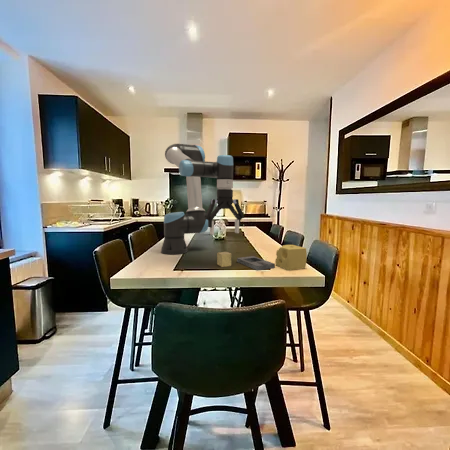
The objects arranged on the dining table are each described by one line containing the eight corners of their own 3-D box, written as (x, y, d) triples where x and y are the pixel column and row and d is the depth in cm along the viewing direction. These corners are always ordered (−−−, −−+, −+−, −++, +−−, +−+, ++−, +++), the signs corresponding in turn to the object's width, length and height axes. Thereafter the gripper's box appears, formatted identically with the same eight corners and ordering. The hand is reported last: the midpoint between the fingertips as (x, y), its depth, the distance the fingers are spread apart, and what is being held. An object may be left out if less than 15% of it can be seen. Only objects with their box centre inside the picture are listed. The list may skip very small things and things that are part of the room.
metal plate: (236, 261, 142) (237, 257, 142) (253, 259, 146) (253, 255, 146) (257, 270, 126) (257, 265, 126) (274, 267, 131) (274, 263, 130)
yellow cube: (217, 264, 136) (217, 252, 135) (226, 263, 138) (226, 251, 138) (221, 267, 132) (222, 254, 131) (231, 265, 134) (231, 253, 133)
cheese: (275, 265, 135) (275, 245, 134) (293, 263, 140) (294, 244, 138) (287, 271, 126) (288, 249, 125) (307, 268, 130) (307, 247, 129)
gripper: (203, 188, 122) (203, 236, 124) (251, 189, 133) (250, 233, 136) (197, 188, 128) (197, 234, 130) (243, 189, 140) (242, 231, 142)
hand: (224, 233), depth 133 cm, fingers open, 13 cm apart
